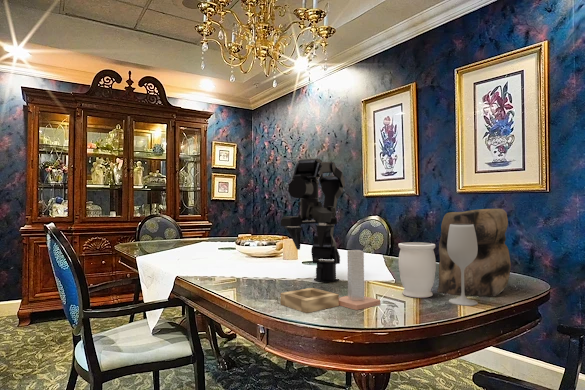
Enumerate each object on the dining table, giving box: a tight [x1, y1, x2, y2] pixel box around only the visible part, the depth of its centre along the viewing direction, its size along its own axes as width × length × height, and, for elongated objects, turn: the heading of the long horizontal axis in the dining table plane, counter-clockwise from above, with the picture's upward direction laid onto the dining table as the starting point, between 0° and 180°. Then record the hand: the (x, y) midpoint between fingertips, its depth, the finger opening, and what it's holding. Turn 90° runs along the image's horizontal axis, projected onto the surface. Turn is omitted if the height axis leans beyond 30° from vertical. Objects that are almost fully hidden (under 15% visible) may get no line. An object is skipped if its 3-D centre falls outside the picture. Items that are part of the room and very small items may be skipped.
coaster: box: [339, 295, 381, 311], centre depth 106 cm, size 9×9×1 cm
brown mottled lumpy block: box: [436, 208, 512, 297], centre depth 122 cm, size 20×20×25 cm
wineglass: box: [447, 224, 479, 307], centre depth 107 cm, size 8×8×21 cm
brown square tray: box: [280, 287, 340, 314], centre depth 105 cm, size 11×11×3 cm
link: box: [347, 249, 365, 301], centre depth 106 cm, size 3×3×13 cm
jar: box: [398, 241, 437, 299], centre depth 116 cm, size 11×10×15 cm
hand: (310, 248), depth 124 cm, fingers open, 9 cm apart
